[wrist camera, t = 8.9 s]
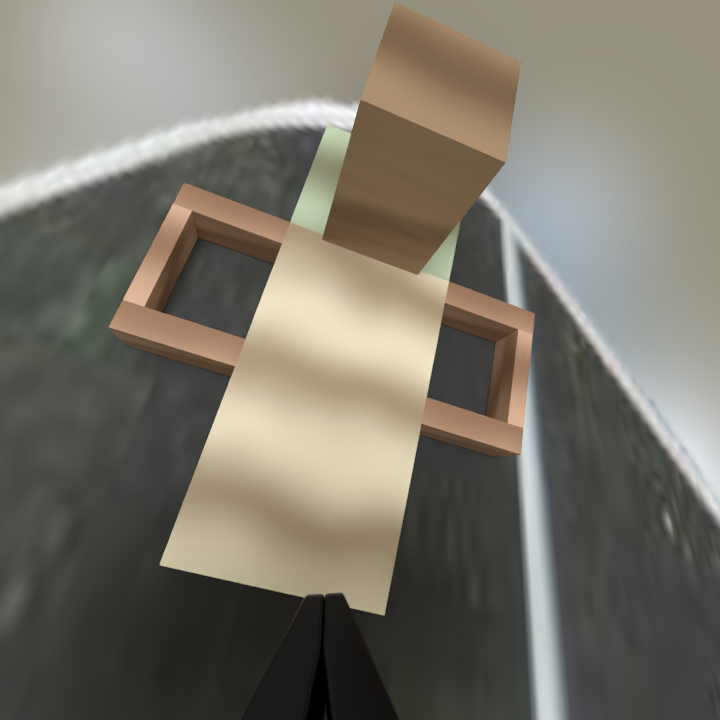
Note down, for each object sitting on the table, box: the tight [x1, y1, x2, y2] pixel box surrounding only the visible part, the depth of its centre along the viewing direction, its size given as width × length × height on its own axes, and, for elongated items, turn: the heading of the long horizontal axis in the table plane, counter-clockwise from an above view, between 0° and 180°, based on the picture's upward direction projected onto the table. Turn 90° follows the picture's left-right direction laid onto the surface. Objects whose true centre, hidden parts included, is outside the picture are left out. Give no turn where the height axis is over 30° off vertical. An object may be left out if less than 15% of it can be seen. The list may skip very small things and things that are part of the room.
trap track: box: [109, 124, 535, 615], centre depth 23 cm, size 26×22×2 cm
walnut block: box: [322, 2, 521, 275], centre depth 20 cm, size 6×6×9 cm
